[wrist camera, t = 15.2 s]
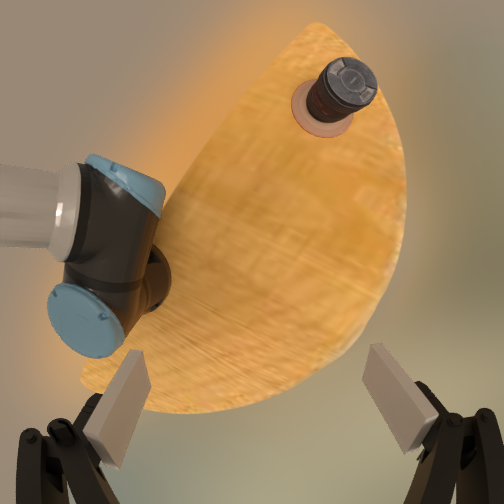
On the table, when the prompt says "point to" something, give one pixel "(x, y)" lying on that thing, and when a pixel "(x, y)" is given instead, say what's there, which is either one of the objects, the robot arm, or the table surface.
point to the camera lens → (341, 90)
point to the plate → (309, 122)
